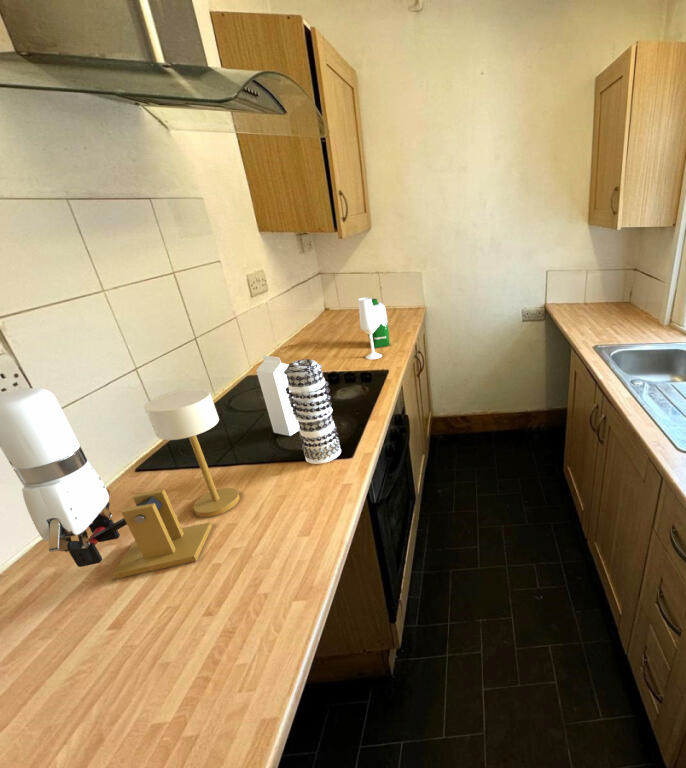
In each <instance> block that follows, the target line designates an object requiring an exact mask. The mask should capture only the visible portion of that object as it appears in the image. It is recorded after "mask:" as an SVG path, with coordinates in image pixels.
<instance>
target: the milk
mask: <svg viewBox="0 0 686 768" xmlns="http://www.w3.org/2000/svg"><path fill="white" fill-rule="evenodd" d="M262 359H263V361H262V362H261V364H260V365H259V366H258V367H257V369H256V370H255V371H256V375H257V379H258V383H259V385H260V388H261V392H262V395H263V399H264V402H265V407H266V410H267V413H268V417H269V421H270V424H271V428H272V432H273V433H274V434H279V435H283V436H288V437H292V436H293V435H294V434H296V433H297V432H300V430H299V423H298V421H297V420H296V419H295V415H294V414H293V411H292V410H293V408H292V407H291V406H290V405H291V404H290V401H289V399H288V396H289V394H287V393H286V388H287V387H288V380H287V375H286V374H284V371H285V369H287V367H288V365H289V364H290V363H289V364H288V363H284V362H282V361H281V358H280V357H278V356H272V355H262ZM289 391H290V390H289ZM292 398H293V397H292ZM293 405H294V404H293ZM294 406H295V405H294Z"/></svg>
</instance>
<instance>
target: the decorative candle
mask: <svg viewBox="0 0 686 768" xmlns="http://www.w3.org/2000/svg"><path fill="white" fill-rule="evenodd" d="M322 368H323V365H322V364H321V363H318V362H317V361H316V360H314V359H311V358H306V359H305V358H304V359H303V358H302V359H297V360H294V361H292V362H290V363H289V365H288V367H287V369H285V371H284V374H286V375H287V380H288V387H287V388H286V393H287V394H289V396H288V399H289V401H290V404H291V405H290V406H291V407H292V408H293V410H292V411H293V414H294V415H295V419H296V420H297V421H298V423H299V435H298V436H299V439H300V443H301V445H302V448H301V449H302V451H303V456H304V458H305V461H306V462H307V463H309V464H311V465H321V464H326V463H329V462H331V461H333V460H336V459H337V458H338V457H339V456H340V455H341V453H342V449H341V445H340V439H339V437H338V435H339V433H338V430H337V429H338V428H337V426H336V425H335V421H334V419H333V415H332V413H333V411H334V410H333V408H332V405H333V403H332V401H331V399H332V397H331V395H330V394H329V393H330V391H331V390H330V388H329V386H330V383H329V382H328V381H326V379H325V377H324V373H323V370H322ZM289 390H290V391H289ZM292 397H293V398H292ZM293 404H294V405H295V406H294V405H293Z"/></svg>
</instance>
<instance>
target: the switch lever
mask: <svg viewBox="0 0 686 768" xmlns="http://www.w3.org/2000/svg"><path fill="white" fill-rule="evenodd" d="M153 503H155V505H156V507H157V509H158V511H159V509H160V508H161V506H162V505H163V504H161V503H160V502H159V501H158V500H156V499H155V498H154V497H152V496H151V497H149V498H148V499H146V500H144V501H142V502H141V503H139V504H137V506H142V505H147V504H153ZM125 526H128V525H127V523H126V521H125V519H124V517H123V518H121V519H119V520H118V521H115V522H114V524H112V525H111V526H109V527H107V528H105V527H102V526H101V527H98V528H97V529H96V530H95V531H94V532H93V533H92V532H91V535H90V536H88V539H89V543H94V544H95V546H96V545H97V544H98V543H99V542H98V541H99V540H101V539H103V538H104V537H106V536H108V535H110V534H111V533H113V532H115V531H116V530H118V531H119V530H120V529H122V528H123V527H125Z"/></svg>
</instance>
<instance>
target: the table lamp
mask: <svg viewBox="0 0 686 768" xmlns="http://www.w3.org/2000/svg"><path fill="white" fill-rule="evenodd" d="M144 410H145V413H146V414H147V417H148V419H149V422H150V424H151V427H152V429H153V431H154V433H155V436H156V438H157V439H159V440H161V441H162V440H163V441H177V440H184V439H187V438H188V439H189V442H190V445H191V446H192V450H193V453H194V455H195V459H196V461H197V463H198V466H199V468H200V472H201V473H202V476H203V479H204V482H205V484H206V486H207V489H208V493H205V494H204V495H201V497H199V498H198V499H197V500H196V501H195V502H194V504H193V511H194V513H195V515H196V516H198V517H201V518H210V517H211V518H212V517H215V516H216V517H217V516H218V515H221V514H225V513H226V512H228V511H229V510H231V509H233V508H234V507H235V506H236V505H237V504H238V502H239V501H240V494H239V491H238V489H235V488H234V487H222V488H218V489H217V488H216V485H215V482H214V480H213V476H212V474H211V471H210V469H209V466H208V463H207V460H206V458H205V456H204V452H203V449H202V448H201V445H200V442H199V439H198V437H197V436H198V435H200V434H203V433H205V432H207V431H209V430H211V429H212V428H214V427H215V426H217V424H218V423H219V421H220V418H219V415H218V412H217V408H216V405H215V403H214V399H213V398H212V395H211V391H210V390H209V389H208V388H207V389H206V388H201V387H199V388H198V387H193V388H185V389H178V390H175V391H171V392H167V393H164V394H161V395H159V396H156V397H154V398H153V399H150V400H148V401H147V402H146V403H145V405H144Z"/></svg>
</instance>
